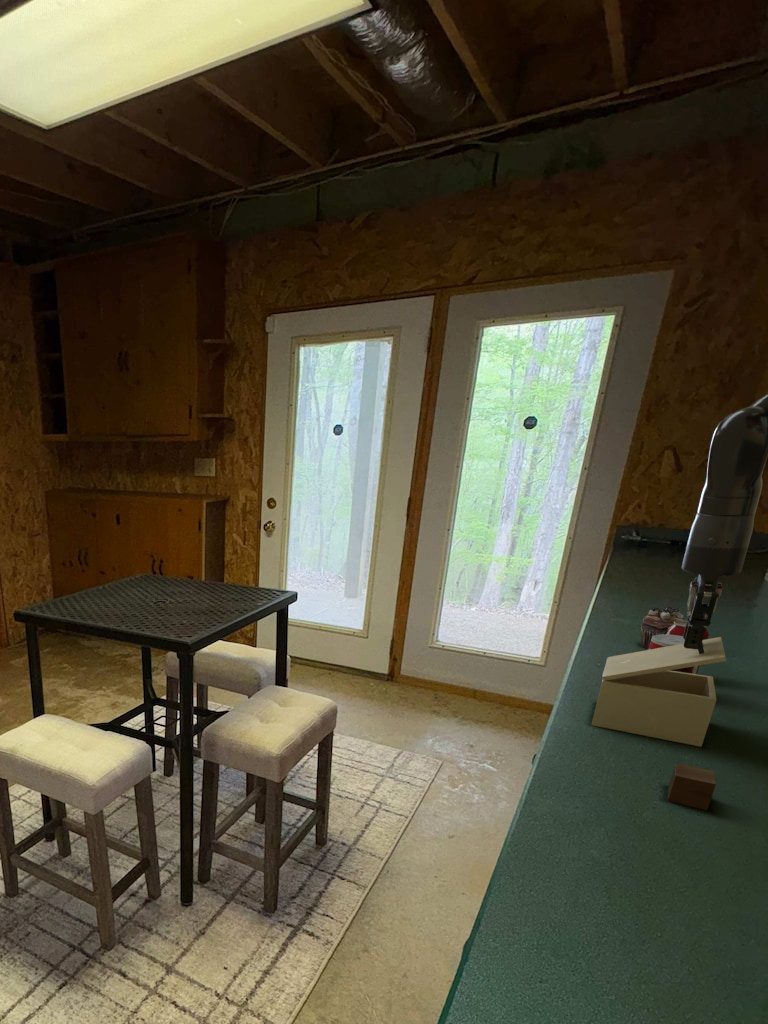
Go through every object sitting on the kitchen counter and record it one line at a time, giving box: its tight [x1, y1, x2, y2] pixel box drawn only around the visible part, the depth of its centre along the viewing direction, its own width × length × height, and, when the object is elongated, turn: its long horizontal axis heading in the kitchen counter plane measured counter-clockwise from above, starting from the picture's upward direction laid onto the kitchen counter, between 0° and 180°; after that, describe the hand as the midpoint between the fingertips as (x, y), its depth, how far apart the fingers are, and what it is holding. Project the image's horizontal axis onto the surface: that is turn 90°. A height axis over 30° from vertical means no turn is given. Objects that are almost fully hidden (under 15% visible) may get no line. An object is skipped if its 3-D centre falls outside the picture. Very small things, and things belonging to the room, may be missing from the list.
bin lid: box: [602, 636, 727, 681], centre depth 109 cm, size 16×13×5 cm
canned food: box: [647, 634, 694, 674], centre depth 125 cm, size 8×8×11 cm
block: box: [667, 763, 717, 811], centre depth 89 cm, size 4×4×4 cm
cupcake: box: [640, 605, 686, 650], centre depth 150 cm, size 10×10×10 cm
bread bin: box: [591, 670, 717, 748], centre depth 112 cm, size 16×13×9 cm
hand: (691, 643), depth 106 cm, fingers closed on bin lid, 5 cm apart
